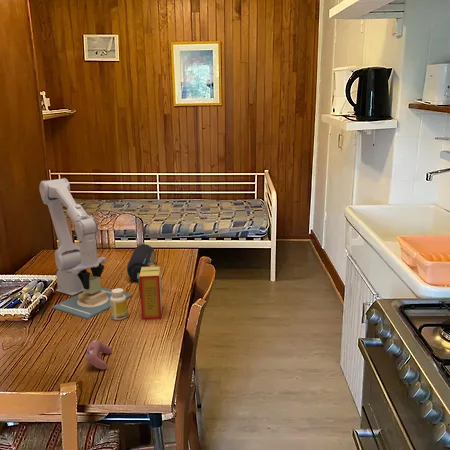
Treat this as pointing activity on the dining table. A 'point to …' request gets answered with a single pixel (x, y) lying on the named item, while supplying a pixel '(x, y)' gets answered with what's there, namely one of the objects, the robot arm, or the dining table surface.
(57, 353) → the dining table surface
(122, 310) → the supplement bottle
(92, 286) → the sage block
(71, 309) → the board
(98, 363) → the video game controller
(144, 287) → the baking soda box
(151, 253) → the portable speaker
